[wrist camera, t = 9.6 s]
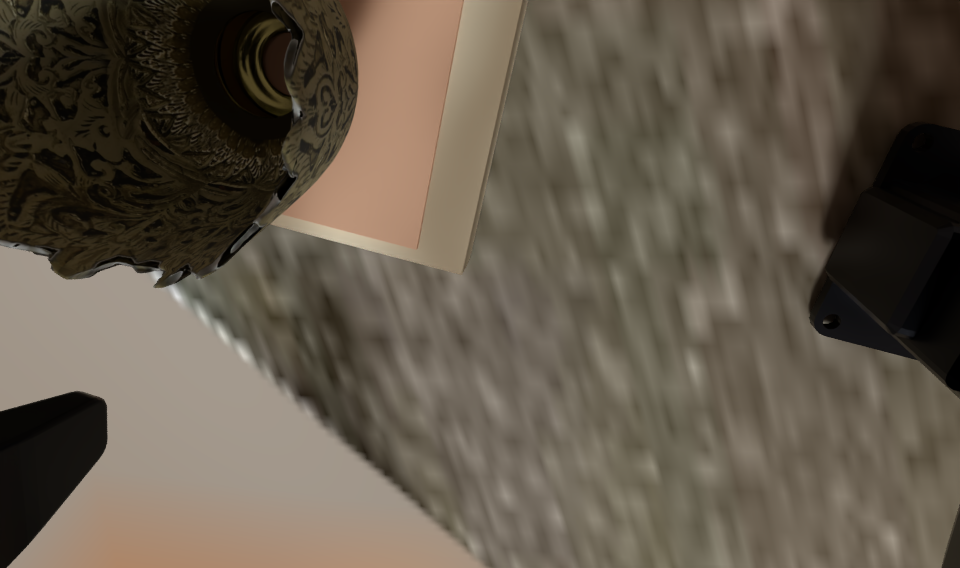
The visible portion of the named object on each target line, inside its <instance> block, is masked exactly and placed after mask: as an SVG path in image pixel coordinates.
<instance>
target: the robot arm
mask: <svg viewBox="0 0 960 568" xmlns="http://www.w3.org/2000/svg"><path fill="white" fill-rule="evenodd" d="M922 133H924V135H925V137H926V140H925V143H924V145H923V146H922V147H921V148H919V149H917V150H914V149H913V147H912V143H913V140H914V139H915V138H916V136H918V135H920V134H922ZM826 272H827V274H828V278H827V280H826V282H825V284H824V286H823V288H822V290H821V292H820V294H819V296H818V298H817V300H816V302H815V304H814V307H813V309H812V311H811V313H810V317H809V318H810V323H811V324H812V326H813V327H814V328H815V329H816V330H817V331H818V333H820V334H822V335H824V336H827V337H831V338H835V339H838V340H842V341H846V342H850V343H854V344H858V345H861V346H865V347H869V348H873V349H877V350H881V351H884V352H888V353H892V354H896V355H900V356H904V357H907V358H911V359H915V360H919V361H920V362H921V363H922V364H923V365H924V366H925V367H926V368H927V369H928V370H929V371H930V372H931V373H933V374H934V375H935V376H936V377H937V378H938V379H939V380H940V381H941V382H942V383H943V384H944V385H945V386H947V387H948V388H949V389H950V390H951V391H952V392H953V393H954V394H955V395H956V396H957V397H958V398H959V399H960V131H959V130H955V129H951V128H947V127H942V126H938V125H934V124H929V123H925V122H915V123H912V124H909V125H907V126H906V127H905V128H903V129H902V130H901V131H900V133H899V134H898V135H897V137H896V139H895V141H894V143H893V145H892V147H891V149H890V151H889V153H888V155H887V157H886V159H885V161H884V163H883V166H882V168H881V170H880V172H879V174H878V176H877V178H876V180H875V182H874V184H873V186H872V187H871V188H869V189H867V190H866V191H864V192H863V193H862V194H861V196H860V198H859V200H858V202H857V204H856V206H855V208H854V210H853V212H852V214H851V216H850V218H849V221H848V223H847V225H846V227H845V229H844V231H843V233H842V235H841V237H840V239H839V241H838V243H837V245H836V247H835V249H834V252H833V254H832V256H831V258H830V260H829V262H828V264H827V266H826ZM830 314H836V317H835V319H834V320H833V322H831V323H828V324H823V319H824V318H825V317H826V316H828V315H830ZM106 444H107V405H106V403H105V401H104V399H102V398H100V397H97V396H94V395H91V394H88V393H85V392H80V391H75V392H70V393H66V394H63V395H59V396H55V397H52V398H48V399H44V400H41V401H37V402H33V403H30V404H26V405H22V406H19V407H15V408H11V409H8V410H4V411H0V568H7V566H9V565H10V564H11V563H12V561H13V560H14V559H15V558H16V557H17V556H18V555H19V554H20V553H21V552H22V551H23V550H24V549H25V548H26V547H27V545H29V543H30V542H31V541H32V540H33V539H34V538H35V536H36V535H37V534H38V533H39V532H40V531H41V529H42V528H43V527H44V526H45V525H46V523H47V522H48V521H49V520H50V519H51V517H52V516H53V515H54V514H55V512H56V511H57V510H58V509H59V508H60V506H61V505H62V504H63V502H64V501H65V500H66V499H67V498H68V497H69V495H70V494H71V493H72V492H73V490H74V489H75V488H76V486H78V484H79V483H80V482H81V481H82V479H83V478H84V477H85V475H87V473H88V472H89V471H90V470H91V468H92V467H93V466H94V465H95V463H96V462H97V461H98V460H99V458H100V457H101V456H102V454H103V452H104V450H105V448H106ZM942 568H960V505H959V509H958V512H957V515H956V518H955V522H954V525H953V528H952V532H951V535H950V538H949V542H948V545H947V548H946V552H945V556H944V560H943V564H942Z"/></svg>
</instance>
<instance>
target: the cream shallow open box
mask: <svg viewBox="0 0 960 568" xmlns="http://www.w3.org/2000/svg"><path fill="white" fill-rule="evenodd" d="M339 2H340V3H341V5H342V8H343V10H344V12H345V15H346V17H347V20H348V22H349V25H350V29H351V32H352V35H353V39H354V43H355V48H356V53H357V62H358V96H357V103H356V108H355V113H354V117H353V120H352V123H351V126H350V129H349V132H348V134H347V136H346V138H345V140H344V143H343V145H342V147H341V149H340V151H339V152H338V154H337V155H336V157H335V159H334V160H333V162H332V163H331V164H330V165H329V167H328V168H327V169H326V170H325V172H324V173H323V174H322V175H321V177H320V178H319V179H318V180H317V181H316V182H315V183H314V184H313V185H312V186H311V187H310V188H309V189H308V190H307V191H306V192H305V193H304V194H303V195H302V196H301V197H300V198H299V199H298V200H297V201H296V202H294V203H293V204H292V205H291V206H290V207H289V208H288V209H287V210H286V211H284V212H283V213H282V214H281V215H280V216H279V217H277V218H276V219H275V220H274V221H273V222H272V223H270V224H271V225H275V226H279V227H283V228H286V229H290V230H294V231H298V232H301V233H305V234H309V235H313V236H317V237H320V238H324V239H328V240H332V241H336V242H339V243H343V244H347V245H351V246H354V247H358V248H362V249H366V250H370V251H373V252H377V253H381V254H385V255H388V256H392V257H396V258H400V259H404V260H407V261H411V262H415V263H419V264H422V265H426V266H430V267H434V268H438V269H441V270H445V271H449V272H453V273H456V274H460V275H462V273H463V271H464V269H465V268H466V266H467V264H468V262H469V260H470V257H471V252H472V248H473V243H474V239H475V235H476V230H477V226H478V221H479V217H480V212H481V208H482V203H483V199H484V195H485V190H486V186H487V181H488V177H489V172H490V168H491V164H492V159H493V155H494V150H495V146H496V141H497V137H498V132H499V128H500V124H501V119H502V115H503V110H504V106H505V101H506V97H507V92H508V88H509V84H510V79H511V75H512V70H513V66H514V61H515V57H516V53H517V48H518V44H519V39H520V35H521V30H522V26H523V21H524V17H525V13H526V8H527V4H528V0H339ZM291 38H292V35H291V33H283V34H279V35H277V36H275V37H273V38H272V39H271V40H270V41H269V42H268V44H267V46H266V48H265V50H264V54H263V66H264V71H265V74H266V76H267V78H268V80H269V81H270V83H271V84H272V85H273V86H274V87H275V88H276V89H277V90H279V91H280V92H282V93H284V94H287V95H291V94H290V93H289V91H288V89H287V86H286V83H285V78H284V58H285V54H286V51H287V47H288V45H289V43H290V41H291Z"/></svg>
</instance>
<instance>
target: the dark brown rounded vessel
mask: <svg viewBox="0 0 960 568" xmlns="http://www.w3.org/2000/svg"><path fill="white" fill-rule="evenodd" d="M283 33H291V35H292V38H291V41H290V43H289V45H288V47H287V51H286V54H285V58H284V78H285V83H286V86H287V89H288V91H289V93H290V94H291V95H287V94H284V93H282V92H280V91H279V90H277V89H276V88H275V87H274V86H273V85H272V84H271V83H270V81H269V80H268V78H267V76H266V74H265V71H264V66H263V54H264V50H265V48H266V46H267V44H268V42H269V41H270V40H271V39H272V38H273V37H275V36H277V35H279V34H283ZM357 96H358V62H357V53H356V48H355V43H354V39H353V35H352V32H351V29H350V25H349V22H348V20H347V17H346V15H345V12H344V10H343V8H342V5H341V3H340V2H339V0H0V245H1V246H5V247H9V248H15V249H20V250H26V251H31V252H33V253H34V254H36V255H43V256H47V257H49V259H48V260H49V261H50V263H51V269H52V270H53V271H54V272H55V273H56V274H58V275H60V276H61V277H63V278H65V279H82V278H88V277H91V276H93V275H95V274H96V273H97V272H100V271H102V270H104V269H108V268H111V267H114V266H116V265H125V266H131V267H133V268H134V270H135V271H136V272H137V273H148V272H152V271H159V270H161V271H163V274H162V275H163V276H162V277H161V278H159V279H158V281H157V283H156V284H155V285H154V286H153V287H154V288H163V287H166V286H169V285H172V284H175V283H177V282H179V281H181V280H182V279H184V278H185V277H187V276H189V275H190V274H191V273H192V274H193V275H195V276H196V278H197V279H202V278H204V277H206V276H208V275H210V274H211V273H213V272H215V271H216V270H218V269H219V268H220V267H222V266H223V265H224V264H226V263H227V262H228V261H229V260H230V259H231V258H232V257H233V256H234V255H235V254H236V253H237V252H238V251H239V250H240V249H241V248H242V247H243V246H244V245H245V244H246V243H247V242H249V241H250V240H251V239H252V238H253V237H255V236H256V235H257V234H258V233H260V232H261V231H262V230H263V229H264V228H266V227H267V226H268V225H269V224H270V223H272V222H273V221H274V220H275V219H276V218H277V217H279V216H280V215H281V214H282V213H283V212H284V211H286V210H287V209H288V208H289V207H290V206H291V205H292V204H293V203H294V202H296V201H297V200H298V199H299V198H300V197H301V196H302V195H303V194H304V193H305V192H306V191H307V190H308V189H309V188H310V187H311V186H312V185H313V184H314V183H315V182H316V181H317V180H318V179H319V178H320V177H321V175H322V174H323V173H324V172H325V170H326V169H327V168H328V167H329V165H330V164H331V163H332V162H333V160H334V159H335V157H336V155H337V154H338V152H339V151H340V149H341V147H342V145H343V143H344V140H345V138H346V136H347V134H348V132H349V129H350V126H351V123H352V120H353V117H354V113H355V108H356V103H357Z"/></svg>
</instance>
